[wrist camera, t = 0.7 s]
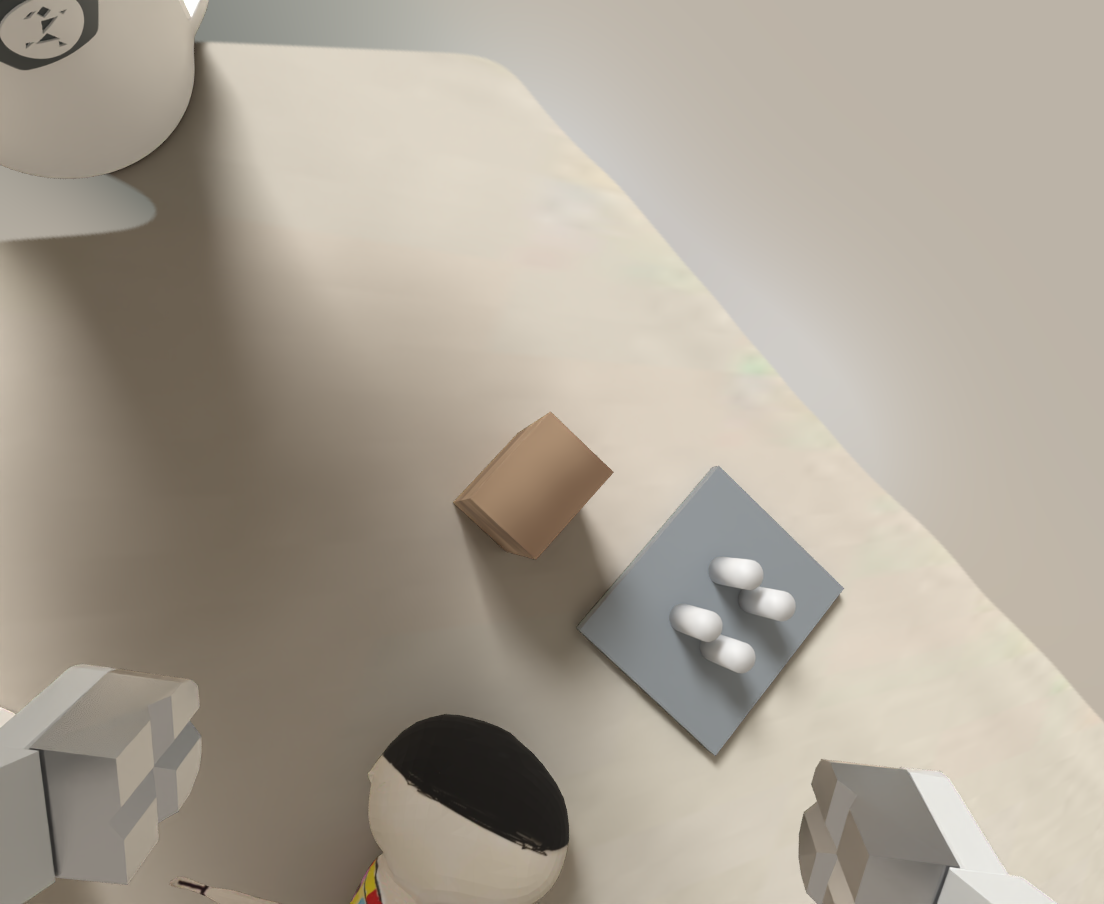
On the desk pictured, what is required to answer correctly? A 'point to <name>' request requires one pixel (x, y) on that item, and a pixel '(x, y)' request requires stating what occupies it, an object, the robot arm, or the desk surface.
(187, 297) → the desk surface
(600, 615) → the stand
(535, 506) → the block
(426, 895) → the toy
